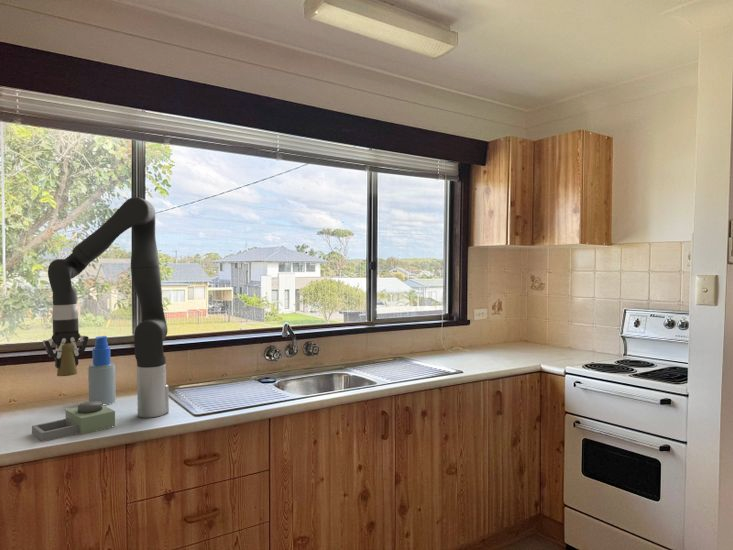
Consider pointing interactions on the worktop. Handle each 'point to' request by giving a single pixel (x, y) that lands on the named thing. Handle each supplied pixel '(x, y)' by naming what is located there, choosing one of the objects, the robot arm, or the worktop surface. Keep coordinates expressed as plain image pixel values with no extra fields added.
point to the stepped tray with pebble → (77, 421)
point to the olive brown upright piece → (67, 361)
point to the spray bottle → (101, 373)
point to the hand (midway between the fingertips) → (67, 367)
